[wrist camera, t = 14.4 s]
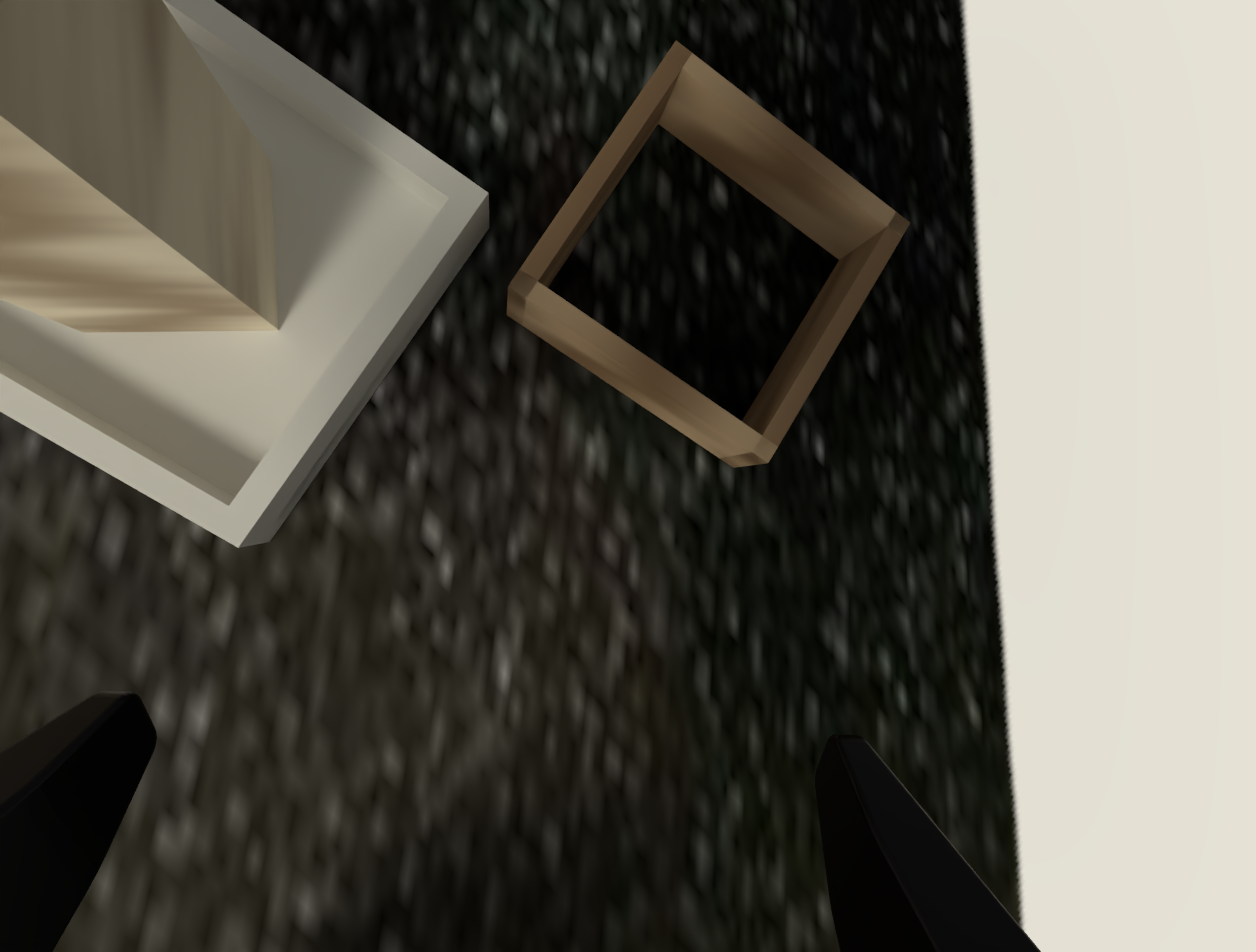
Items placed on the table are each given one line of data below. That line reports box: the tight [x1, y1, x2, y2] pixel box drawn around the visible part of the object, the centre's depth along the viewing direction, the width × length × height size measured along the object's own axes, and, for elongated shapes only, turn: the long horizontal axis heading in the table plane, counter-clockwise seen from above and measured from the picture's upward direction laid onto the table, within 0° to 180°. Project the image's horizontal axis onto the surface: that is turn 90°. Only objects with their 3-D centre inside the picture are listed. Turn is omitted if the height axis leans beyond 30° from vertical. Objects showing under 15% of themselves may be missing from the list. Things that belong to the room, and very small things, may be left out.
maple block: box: [0, 0, 279, 333], centre depth 12 cm, size 5×5×13 cm
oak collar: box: [507, 41, 910, 468], centre depth 21 cm, size 9×9×3 cm
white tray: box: [0, 0, 490, 548], centre depth 19 cm, size 13×12×2 cm
